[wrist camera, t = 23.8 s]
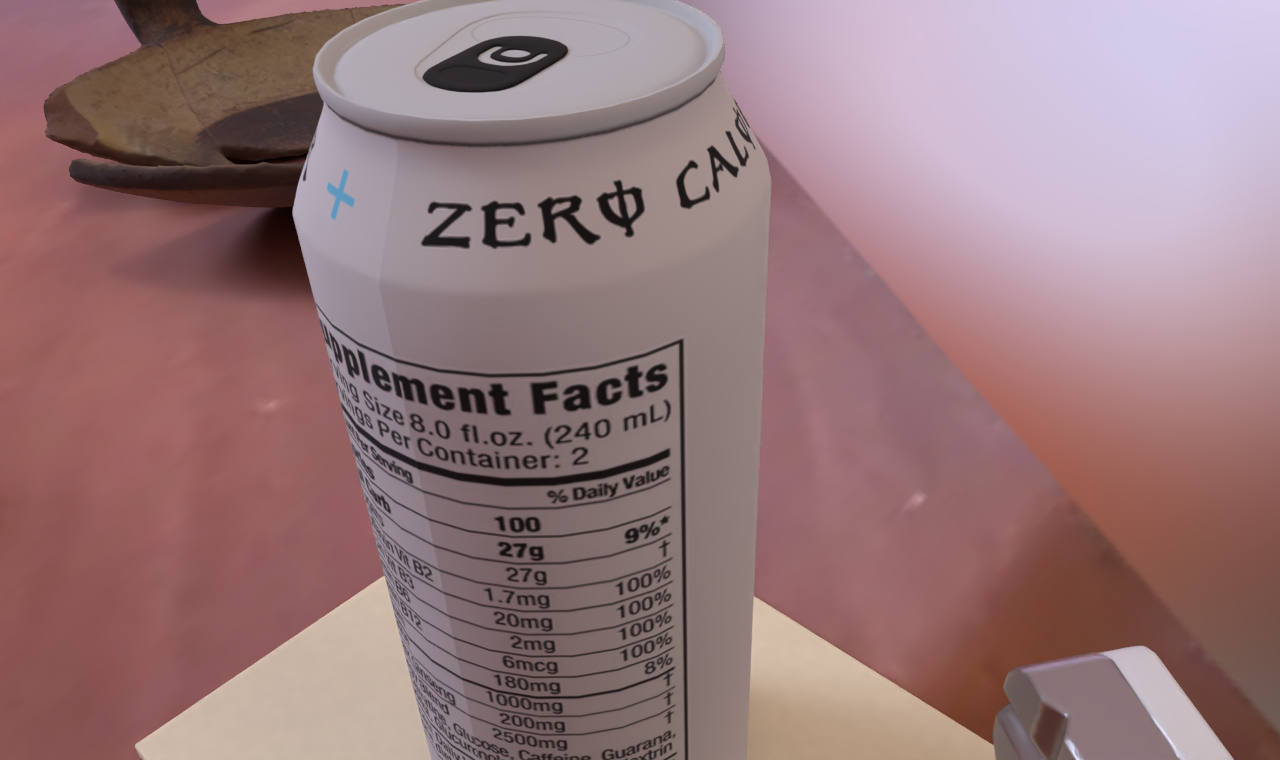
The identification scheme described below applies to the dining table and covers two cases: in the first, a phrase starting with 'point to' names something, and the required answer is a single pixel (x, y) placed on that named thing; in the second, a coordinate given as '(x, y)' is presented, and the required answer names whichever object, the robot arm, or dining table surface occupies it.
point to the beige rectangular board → (395, 739)
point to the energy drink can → (550, 364)
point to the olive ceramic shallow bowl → (200, 105)
